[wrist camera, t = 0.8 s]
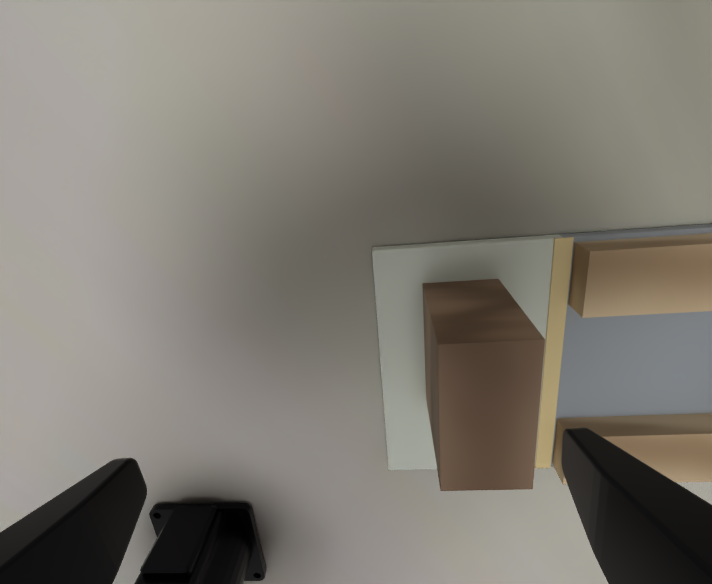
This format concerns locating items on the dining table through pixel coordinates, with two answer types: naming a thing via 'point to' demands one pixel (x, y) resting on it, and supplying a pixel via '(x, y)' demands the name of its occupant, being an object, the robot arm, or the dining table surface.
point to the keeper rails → (640, 297)
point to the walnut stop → (481, 385)
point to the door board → (555, 323)
